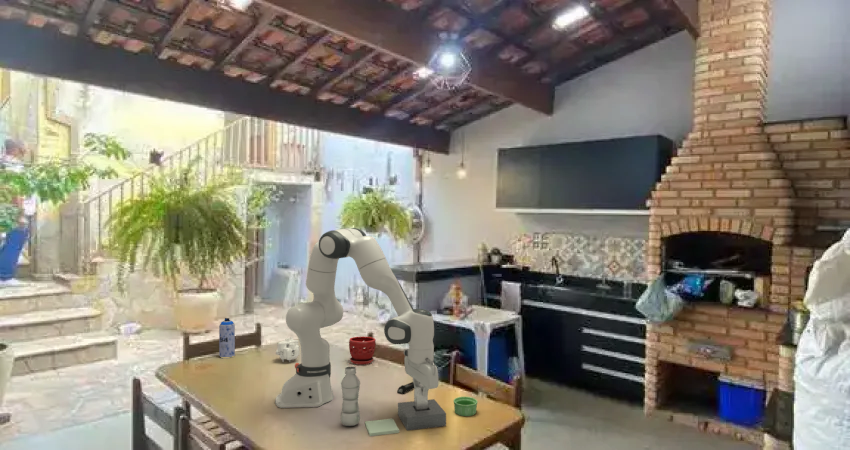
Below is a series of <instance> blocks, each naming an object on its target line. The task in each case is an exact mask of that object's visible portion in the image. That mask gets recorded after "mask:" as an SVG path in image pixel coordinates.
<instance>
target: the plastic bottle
mask: <svg viewBox="0 0 850 450" xmlns="http://www.w3.org/2000/svg"><path fill="white" fill-rule="evenodd" d="M344 369H345V370H344V374H345V375H344V377H343V378H342V380H341V382H340V387H341V393H342V397H341V398H342V406H341V413H340V422H341V424H342V425H343V426H345V427H353V426H357V425H358V424H359V422H360V419H361V416H360V414H361V413H360V410H359V409H360V408H359V396H360V395H359V394H360V387H361V381H360V379H359V377H358V376H357V375H356V374H357V368H356V366H346V367H345V368H344Z"/></svg>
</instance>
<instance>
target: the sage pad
mask: <svg viewBox="0 0 850 450" xmlns="http://www.w3.org/2000/svg"><path fill="white" fill-rule="evenodd" d="M364 425H365V428H366V431H367V433H368V435H369V437H375V436H384V435H393V434H399V433H400V429H399V427H398V426H397V423H396V421H395V420H394V418H393V417H392V418H384V419H377V420H367V421H364Z"/></svg>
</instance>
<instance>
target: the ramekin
mask: <svg viewBox="0 0 850 450" xmlns="http://www.w3.org/2000/svg"><path fill="white" fill-rule="evenodd" d="M478 402H479V401H478V400H477V399H476V398H474V397H472V396H471V397H470V396H459V397H455V398H454V399H453V406H454V407H453V408H454V413H455V415H458V416H462V417H470V416H474V415H475V414H477V409H478V408H477V406H478Z"/></svg>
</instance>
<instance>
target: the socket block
mask: <svg viewBox="0 0 850 450" xmlns="http://www.w3.org/2000/svg"><path fill="white" fill-rule="evenodd" d="M397 416H398V418H399V419H400V421H401V423H402V424H403V426H404V428H405V430H406V432H408V431H415V430H425V429H432V428H441V427H446V426H447V413H446V411H445V410H444V409H443V408H442V407H441V405H440V404H439V403H438V402H437V401H436V400H435V398H434V399H433V398H432V399H428V410H424V411H416V410H415V409H414V400H413V401H403V402H402V401H401V402H398V403H397Z"/></svg>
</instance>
